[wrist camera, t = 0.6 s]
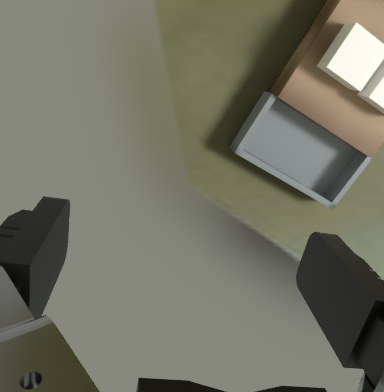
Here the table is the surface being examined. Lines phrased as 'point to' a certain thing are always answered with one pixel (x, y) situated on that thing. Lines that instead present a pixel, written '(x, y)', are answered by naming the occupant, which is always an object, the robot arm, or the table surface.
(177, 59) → the table surface
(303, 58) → the tan flat block
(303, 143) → the box
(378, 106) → the tile
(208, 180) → the table surface
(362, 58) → the tile
